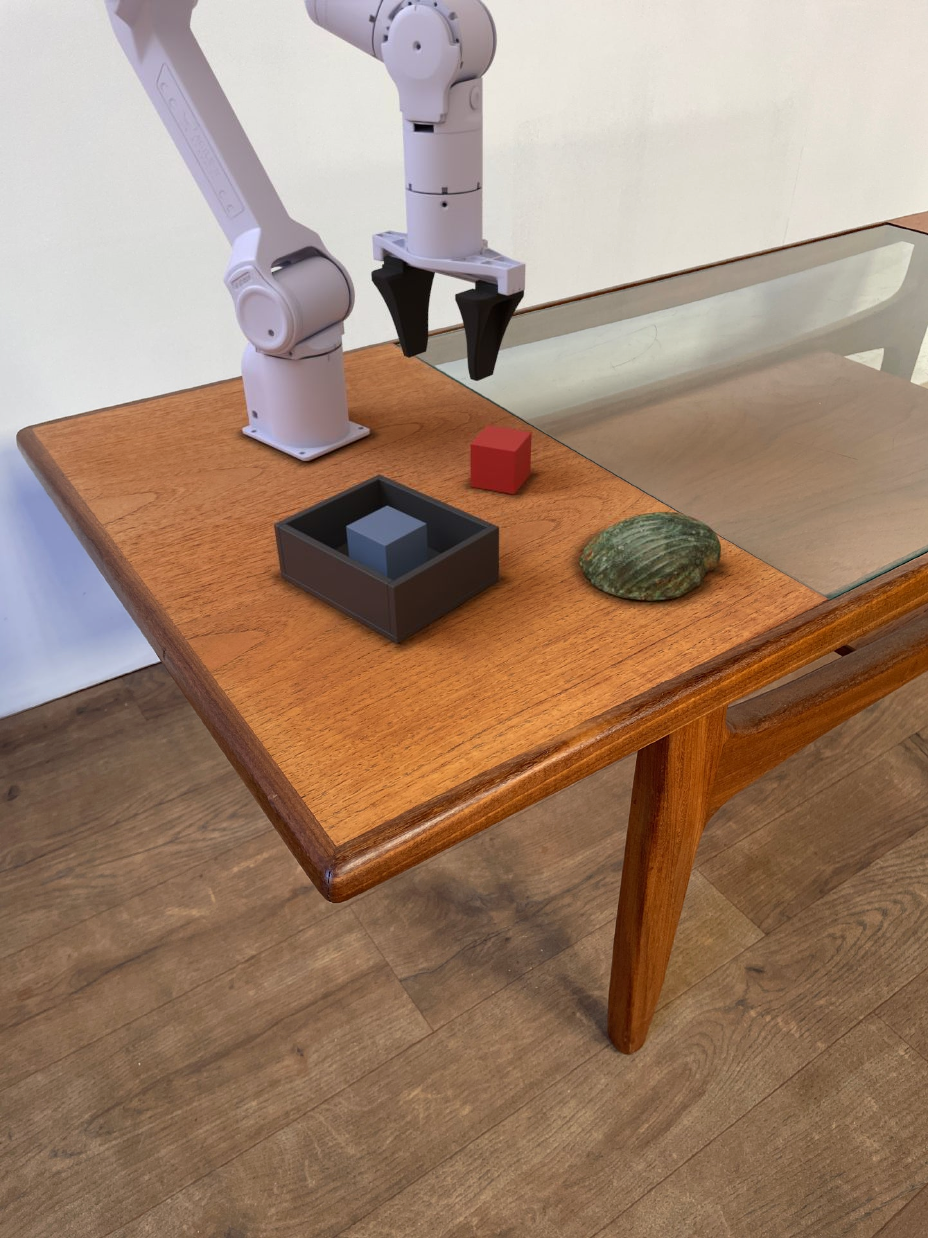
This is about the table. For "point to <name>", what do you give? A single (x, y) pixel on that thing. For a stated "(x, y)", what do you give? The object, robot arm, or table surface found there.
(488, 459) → the red block
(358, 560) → the blue block
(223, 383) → the table surface
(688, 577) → the seashell
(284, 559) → the bin
